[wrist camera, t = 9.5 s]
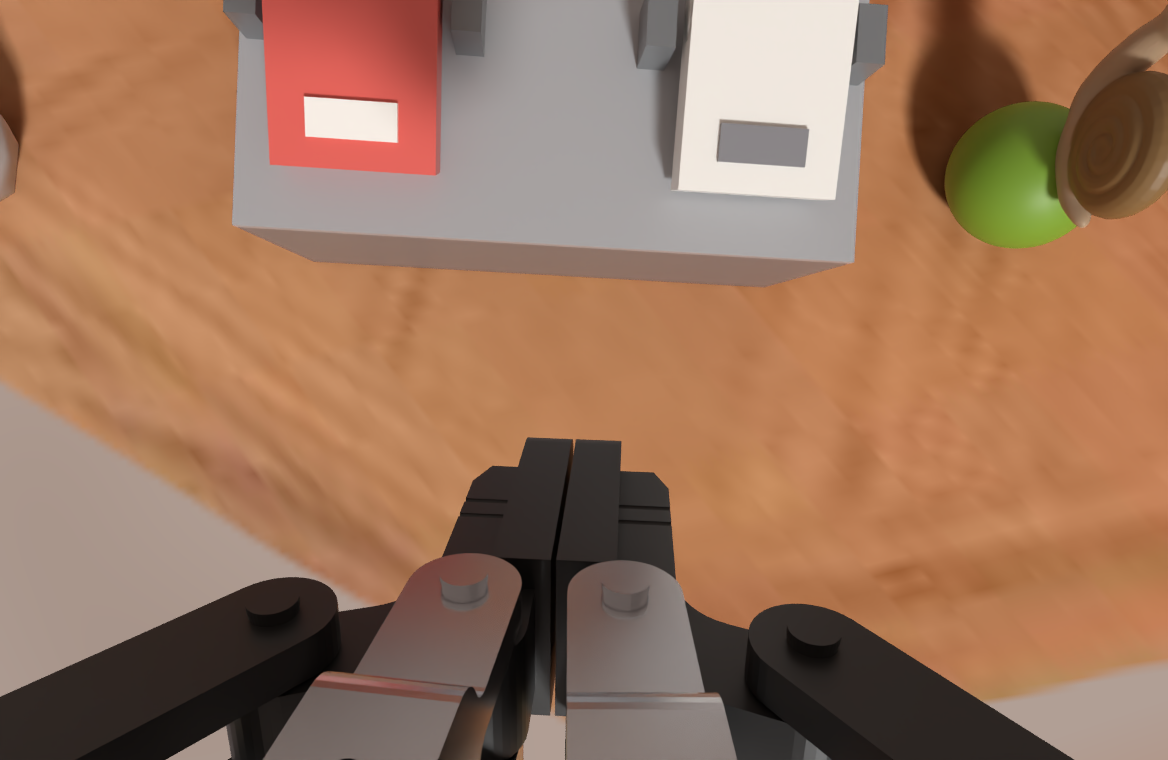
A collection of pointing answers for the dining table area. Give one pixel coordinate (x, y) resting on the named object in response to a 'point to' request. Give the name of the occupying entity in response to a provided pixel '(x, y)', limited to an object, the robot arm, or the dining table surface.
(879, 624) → the dining table surface
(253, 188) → the switch box
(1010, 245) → the snail figurine
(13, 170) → the salt shaker
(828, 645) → the robot arm
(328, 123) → the red rocker
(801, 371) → the dining table surface
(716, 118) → the white rocker
